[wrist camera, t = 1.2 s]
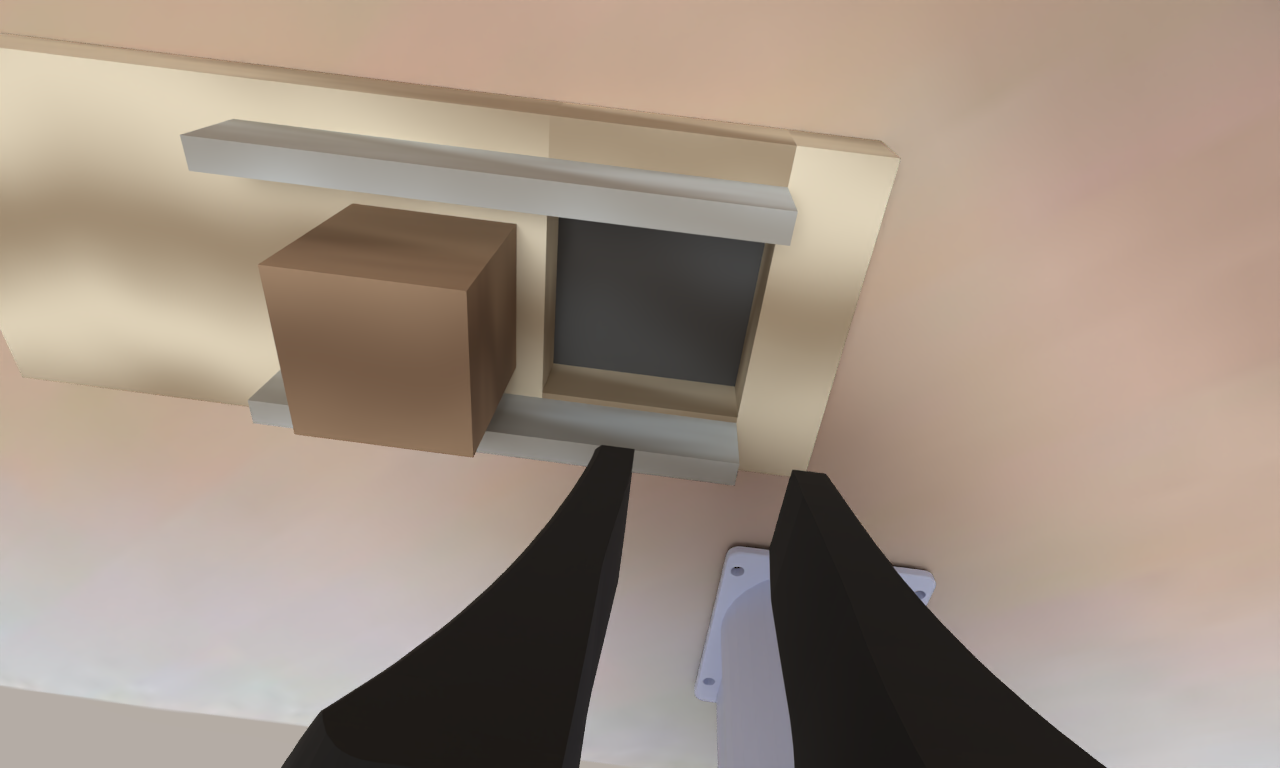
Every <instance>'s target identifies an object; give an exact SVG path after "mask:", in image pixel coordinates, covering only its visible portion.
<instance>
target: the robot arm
mask: <svg viewBox="0 0 1280 768" xmlns="http://www.w3.org/2000/svg"><path fill="white" fill-rule="evenodd" d="M634 452H635V449H631V448H623V447H615V446H607V445H601V446H599V447H598V448H596V449H595V451H594V453H593V456H592V458H591V460H590V462H589V463H588V465H587V467H586V469H585V471H584V472H583V474H582V476H581V477H580V479H579V480H578V482H577V483H576V485H575V486H574V488H573V489H572V491H571V492H570V494H569V495H568V496H567V498H566V499H565V501H564V502H563V503H562V505H561V506H560V507H559V509H558V510H557V512H556V513H555V514H554V516H553V517H552V518H551V520H550V521H549V522H548V523H547V524H546V526H545V527H544V528H543V529H542V530H541V532H540V533H539V534H538V535H537V536H536V538H535V539H534V540H533V541H532V542H531V543H530V545H529V546H528V547H527V548H526V549H525V550H524V552H523V553H522V554H521V555H520V556H519V557H518V558H517V559H516V560H515V561H514V562H513V563H512V565H511V566H510V567H509V568H508V569H507V570H506V571H505V572H504V573H503V574H502V575H501V576H500V577H499V578H498V579H497V580H496V581H495V582H494V583H493V584H492V585H491V586H489V587H488V588H487V589H486V590H485V591H484V592H483V593H482V594H481V595H480V596H478V597H477V598H476V599H475V600H474V601H473V602H472V603H471V604H470V605H468V606H467V607H466V608H465V609H464V610H463V611H462V612H461V613H459V614H458V615H457V616H456V617H455V618H453V619H452V620H451V621H450V622H449V623H447V624H446V625H445V626H444V627H443V628H441V629H440V630H439V631H437V632H436V633H435V634H433V635H432V636H431V637H429V638H428V639H427V640H425V641H424V642H423V643H421V644H420V645H419V646H417V647H416V648H415V649H413V650H412V651H411V652H409V653H408V654H407V655H405V656H404V657H403V658H401V659H400V660H399V661H397V662H396V663H395V664H393V665H392V666H390V667H389V668H387V669H386V670H384V671H383V672H381V673H380V674H378V675H377V676H375V677H374V678H372V679H371V680H369V681H367V682H366V683H364V684H363V685H361V686H360V687H358V688H357V689H355V690H353V691H352V692H350V693H349V694H347V695H346V696H344V697H342V698H341V699H339V700H338V701H336V702H335V703H333V704H331V705H330V706H328V707H327V708H325V709H323V710H322V711H321V712H320V713H319V714H318V715H317V717H316V718H315V719H314V721H313V722H312V723H311V725H310V726H309V728H308V729H307V731H306V732H305V733H304V734H303V736H302V737H301V739H300V740H299V742H298V743H297V745H296V746H295V748H294V749H293V751H292V752H291V754H290V755H289V757H288V758H287V759H286V761H285V763H284V764H283V766H282V767H281V768H579V764H580V758H581V751H582V744H583V738H584V731H585V724H586V717H587V712H588V707H589V702H590V697H591V692H592V688H593V684H594V679H595V675H596V671H597V667H598V663H599V659H600V654H601V650H602V646H603V642H604V638H605V634H606V629H607V625H608V621H609V617H610V613H611V609H612V604H613V600H614V596H615V592H616V587H617V583H618V578H619V570H620V563H621V556H622V548H623V541H624V533H625V525H626V517H627V509H628V501H629V492H630V484H631V476H632V468H633V460H634ZM734 567H741V568H734ZM935 587H936V582H935V579H934V577H933V575H932V574H931V573H930V572H928V571H925V570H918V569H910V568H902V567H895V566H892V565H891V563H890V562H889V561H888V559H887V558H886V557H885V555H884V554H883V553H882V552H881V550H880V549H879V548H878V546H877V545H876V544H875V542H874V541H873V540H872V538H871V537H870V536H869V534H868V533H867V532H866V530H865V529H864V527H863V526H862V525H861V523H860V522H859V520H858V519H857V517H856V516H855V515H854V513H853V512H852V510H851V509H850V508H849V506H848V505H847V503H846V502H845V500H844V499H843V497H842V496H841V495H840V493H839V492H838V490H837V489H836V487H835V486H834V485H833V483H832V482H831V480H830V479H829V478H828V476H827V475H826V474H824V473H816V472H808V471H800V470H793V469H792V472H791V476H790V479H789V483H788V486H787V490H786V493H785V497H784V500H783V504H782V507H781V511H780V514H779V517H778V521H777V524H776V528H775V531H774V535H773V538H772V542H771V545H770V549H769V550H765V549H758V548H750V547H742V546H736V547H733V548H731V549H730V550H728V552H727V554H726V558H725V562H724V566H723V570H722V574H721V579H720V583H719V587H718V591H717V595H716V599H715V604H714V608H713V612H712V616H711V620H710V624H709V629H708V633H707V637H706V641H705V645H704V649H703V654H702V658H701V662H700V666H699V670H698V674H697V679H696V683H695V696H696V697H697V698H698V699H700V700H702V701H708V702H716V703H717V750H718V768H1106V767H1105V766H1104V765H1102V764H1101V763H1100V762H1098V761H1097V760H1096V759H1095V758H1093V757H1092V756H1091V755H1089V754H1088V753H1087V752H1086V751H1084V750H1083V749H1082V748H1080V747H1079V746H1078V745H1077V744H1075V743H1074V742H1073V741H1071V740H1070V739H1069V738H1068V737H1066V736H1065V735H1064V734H1062V733H1061V732H1060V731H1059V730H1057V729H1056V728H1055V727H1054V726H1053V725H1051V724H1050V723H1049V722H1048V721H1047V720H1045V719H1044V718H1043V717H1042V716H1041V715H1039V714H1038V713H1037V712H1036V711H1034V710H1033V709H1032V708H1031V707H1030V706H1029V705H1027V704H1026V703H1025V702H1024V701H1023V700H1022V699H1021V698H1020V697H1018V696H1017V695H1016V694H1015V693H1014V692H1013V691H1012V690H1011V689H1009V688H1008V687H1007V686H1006V685H1005V684H1004V683H1003V682H1002V681H1000V680H999V679H998V678H997V677H996V676H995V675H994V674H993V673H991V672H990V671H989V670H988V669H987V668H986V667H985V666H984V665H983V664H982V663H981V662H980V661H979V660H978V659H977V658H976V657H975V656H974V655H973V654H972V653H971V652H970V651H969V650H968V649H967V648H966V647H965V646H964V645H963V644H962V643H961V642H960V641H959V640H958V639H957V638H956V637H955V636H954V635H953V634H952V633H951V632H950V631H949V630H948V629H947V628H946V627H945V626H944V625H943V624H942V623H941V622H940V621H939V620H938V619H937V618H936V616H935V615H934V614H933V613H932V612H931V611H930V610H929V609H928V608H927V607H926V605H927V603H928V601H929V599H930V597H931V595H932V593H933V591H934V589H935ZM915 591H918V592H915Z"/></svg>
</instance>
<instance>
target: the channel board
mask: <svg viewBox="0 0 1280 768" xmlns="http://www.w3.org/2000/svg"><path fill="white" fill-rule="evenodd" d="M900 159H901V158H900V157H899V156H897V155H896V154H895V153H894V152H893V151H892V150H891V149H890V148H889V147H888V146H886V145H885V144H884V143H883V142H882V141H877V140H869V139H861V138H853V137H845V136H837V135H828V134H820V133H812V132H804V131H796V130H788V129H780V128H771V127H763V126H755V125H747V124H739V123H731V122H722V121H714V120H706V119H698V118H690V117H682V116H673V115H665V114H657V113H649V112H641V111H633V110H624V109H616V108H608V107H600V106H592V105H584V104H575V103H567V102H559V101H551V100H543V99H535V98H527V97H518V96H510V95H502V94H494V93H486V92H478V91H469V90H461V89H453V88H445V87H437V86H429V85H420V84H412V83H404V82H396V81H388V80H380V79H371V78H363V77H355V76H347V75H339V74H331V73H323V72H314V71H306V70H298V69H290V68H282V67H274V66H265V65H257V64H249V63H241V62H233V61H225V60H216V59H208V58H200V57H192V56H184V55H176V54H167V53H159V52H151V51H143V50H135V49H127V48H118V47H110V46H102V45H94V44H86V43H78V42H70V41H61V40H53V39H45V38H37V37H29V36H21V35H12V34H4V33H0V330H1V332H2V334H3V336H4V338H5V340H6V343H7V345H8V347H9V349H10V351H11V353H12V356H13V358H14V360H15V362H16V364H17V366H18V369H19V371H20V373H21V375H22V377H23V378H31V379H38V380H46V381H54V382H62V383H69V384H77V385H85V386H92V387H100V388H108V389H116V390H123V391H131V392H139V393H146V394H154V395H162V396H170V397H177V398H185V399H193V400H200V401H208V402H216V403H223V404H231V405H239V406H247V407H249V408H250V412H251V415H252V419H253V423H256V424H264V425H272V426H279V427H287V428H293V425H292V420H291V415H290V411H289V406H288V402H287V397H286V392H285V388H284V383H283V379H282V374H281V369H280V365H279V360H278V356H277V351H276V346H275V342H274V337H273V333H272V328H271V323H270V319H269V314H268V310H267V305H266V300H265V296H264V291H263V287H262V282H261V277H260V273H259V268H258V264H259V263H261V262H263V261H264V260H266V259H267V258H269V257H270V256H272V255H273V254H275V253H276V252H278V251H280V250H281V249H283V248H284V247H286V246H287V245H289V244H290V243H292V242H293V241H295V240H296V239H298V238H300V237H301V236H303V235H304V234H306V233H307V232H309V231H310V230H312V229H313V228H315V227H317V226H318V225H320V224H321V223H323V222H324V221H326V220H327V219H329V218H330V217H332V216H334V215H335V214H337V213H338V212H340V211H341V210H343V209H344V208H346V207H347V206H349V205H351V204H352V203H354V204H362V205H370V206H378V207H386V208H394V209H401V210H409V211H417V212H425V213H433V214H441V215H449V216H457V217H465V218H473V219H481V220H489V221H497V222H505V223H513V224H517V279H516V368H515V371H514V373H513V375H512V377H511V379H510V381H509V383H508V385H507V387H506V389H505V392H504V394H503V396H502V398H501V400H500V402H499V404H498V406H497V408H496V411H495V413H494V415H493V417H492V419H491V421H490V423H489V425H488V427H487V430H486V432H485V434H484V436H483V438H482V440H481V442H480V444H479V446H478V448H477V451H476V452H479V453H487V454H495V455H502V456H510V457H518V458H525V459H533V460H541V461H548V462H556V463H564V464H572V465H579V466H587V465H588V463H589V462H590V460H591V458H592V456H593V453H594V451H595V449H596V448H598V447H599V446H601V445H607V446H615V447H623V448H631V449H635V452H634V460H633V468H632V472H633V473H641V474H648V475H656V476H664V477H671V478H679V479H687V480H695V481H702V482H710V483H718V484H725V485H733V486H735V481H736V477H737V473H738V470H740V471H748V472H755V473H763V474H771V475H779V476H786V477H790V476H791V472H792V469H793V470H800V471H807V467H808V464H809V461H810V457H811V454H812V451H813V448H814V444H815V441H816V438H817V434H818V431H819V428H820V424H821V421H822V418H823V414H824V411H825V408H826V404H827V401H828V398H829V395H830V391H831V388H832V385H833V381H834V378H835V375H836V371H837V368H838V365H839V361H840V358H841V355H842V351H843V348H844V345H845V342H846V338H847V335H848V332H849V328H850V325H851V322H852V318H853V315H854V312H855V308H856V305H857V302H858V298H859V295H860V292H861V289H862V285H863V282H864V279H865V275H866V272H867V269H868V265H869V262H870V259H871V255H872V252H873V249H874V245H875V242H876V239H877V236H878V232H879V229H880V226H881V222H882V219H883V216H884V212H885V209H886V206H887V202H888V199H889V196H890V192H891V189H892V186H893V183H894V179H895V176H896V173H897V169H898V166H899V163H900Z"/></svg>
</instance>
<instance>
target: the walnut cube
mask: <svg viewBox="0 0 1280 768" xmlns="http://www.w3.org/2000/svg"><path fill="white" fill-rule="evenodd" d="M258 268H259V273H260V277H261V282H262V287H263V291H264V296H265V300H266V305H267V310H268V314H269V319H270V323H271V328H272V333H273V337H274V342H275V346H276V351H277V356H278V360H279V365H280V369H281V374H282V379H283V383H284V388H285V392H286V397H287V402H288V406H289V411H290V415H291V420H292V425H293V429H294V434H297V435H304V436H312V437H320V438H327V439H335V440H343V441H350V442H358V443H366V444H373V445H381V446H389V447H397V448H404V449H412V450H420V451H427V452H435V453H443V454H450V455H458V456H466V457H474V455H475V453H476V451H477V448H478V446H479V444H480V442H481V440H482V438H483V436H484V434H485V432H486V430H487V427H488V425H489V423H490V421H491V419H492V417H493V415H494V413H495V411H496V408H497V406H498V404H499V402H500V400H501V398H502V396H503V394H504V392H505V389H506V387H507V385H508V383H509V381H510V379H511V377H512V375H513V373H514V371H515V368H516V279H517V224H513V223H505V222H497V221H489V220H481V219H473V218H465V217H457V216H449V215H441V214H433V213H425V212H417V211H409V210H401V209H394V208H386V207H378V206H370V205H362V204H354V203H352V204H351V205H349V206H347V207H346V208H344V209H343V210H341V211H340V212H338V213H337V214H335V215H334V216H332V217H330V218H329V219H327V220H326V221H324V222H323V223H321V224H320V225H318V226H317V227H315V228H313V229H312V230H310V231H309V232H307V233H306V234H304V235H303V236H301V237H300V238H298V239H296V240H295V241H293V242H292V243H290V244H289V245H287V246H286V247H284V248H283V249H281V250H280V251H278V252H276V253H275V254H273V255H272V256H270V257H269V258H267V259H266V260H264V261H263V262H261V263H259V264H258Z"/></svg>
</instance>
